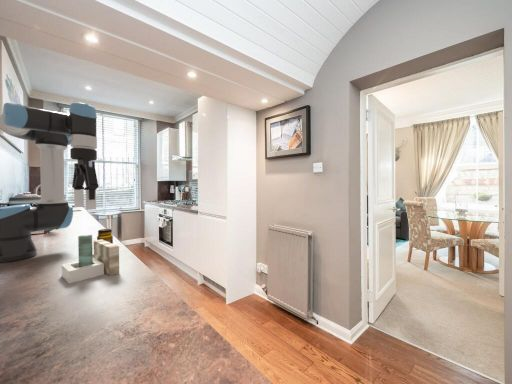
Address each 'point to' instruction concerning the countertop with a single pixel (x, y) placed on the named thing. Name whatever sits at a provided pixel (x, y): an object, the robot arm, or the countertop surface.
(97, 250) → the wall
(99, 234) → the condiment
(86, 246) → the dowel
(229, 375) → the countertop surface
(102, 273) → the socket block
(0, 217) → the robot arm
